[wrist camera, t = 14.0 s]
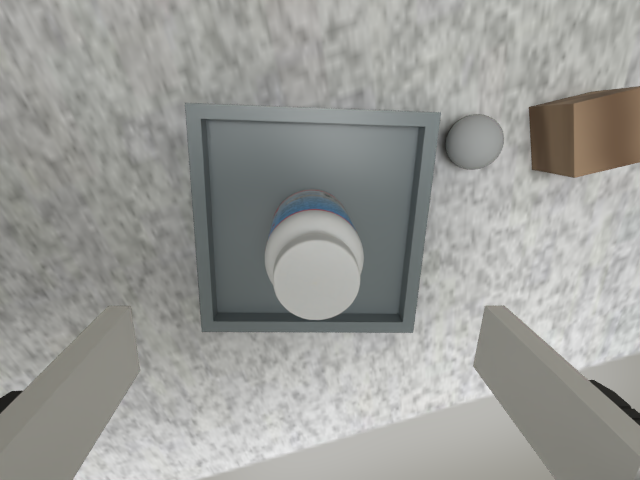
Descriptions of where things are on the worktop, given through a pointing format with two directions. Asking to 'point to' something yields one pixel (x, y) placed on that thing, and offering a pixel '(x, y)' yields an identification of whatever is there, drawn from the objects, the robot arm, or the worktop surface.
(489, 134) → the ball
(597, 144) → the walnut block
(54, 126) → the worktop surface
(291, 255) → the pill bottle
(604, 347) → the worktop surface
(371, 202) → the tray
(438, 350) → the worktop surface
